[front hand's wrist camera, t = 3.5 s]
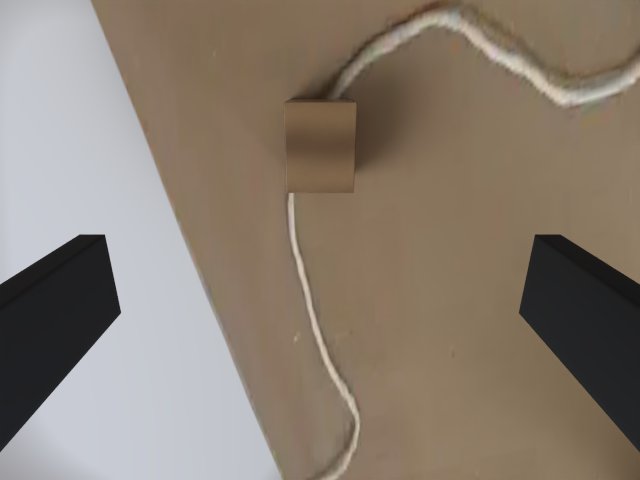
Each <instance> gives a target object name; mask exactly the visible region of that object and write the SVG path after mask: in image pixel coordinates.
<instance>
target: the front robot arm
mask: <svg viewBox="0 0 640 480" xmlns="http://www.w3.org/2000/svg"><path fill="white" fill-rule="evenodd" d="M120 313H121V310H120V305H119V301H118V296H117V291H116V286H115V281H114V276H113V272H112V267H111V262H110V257H109V252H108V247H107V243H106V238H105V235H78V236H77V237H75V238H74V239H72V240H70V241H69V242H67V243H66V244H64V245H62V246H61V247H59V248H58V249H56V250H55V251H53V252H51V253H50V254H48V255H46V256H45V257H43V258H42V259H40V260H38V261H37V262H35V263H34V264H32V265H31V266H29V267H27V268H26V269H24V270H23V271H21V272H19V273H18V274H16V275H15V276H13V277H11V278H10V279H8V280H7V281H5V282H3V283H2V284H0V452H1V451H2V449H3V448H4V447H5V446H6V445H7V444H8V443H9V441H10V440H11V439H12V438H13V437H14V436H15V434H16V433H17V432H18V431H19V430H20V429H21V428H22V426H23V425H24V424H25V423H26V422H27V421H28V420H29V418H30V417H31V416H32V415H33V414H34V413H35V411H36V410H37V409H38V408H39V407H40V406H41V404H42V403H43V402H44V401H45V400H46V399H47V398H48V396H49V395H50V394H51V393H52V392H53V391H54V390H55V388H56V387H57V386H58V385H59V384H60V383H61V382H62V380H63V379H64V378H65V377H66V376H67V374H68V373H69V372H70V371H71V370H72V369H73V368H74V367H75V365H76V364H77V363H78V362H79V361H80V360H81V358H82V357H83V356H84V355H85V354H86V353H87V352H88V350H89V349H90V348H91V347H92V346H93V345H94V344H95V342H96V341H97V340H98V339H99V338H100V337H101V335H102V334H103V333H104V332H105V331H106V330H107V329H108V327H109V326H110V325H111V324H112V323H113V322H114V320H115V319H116V318H117V317H118V316H119V315H120ZM519 314H520V315H521V316H522V317H523V318H524V319H525V320H526V322H527V323H528V324H529V325H530V326H531V327H532V329H533V330H534V331H535V332H536V333H537V334H538V335H539V337H540V338H541V339H542V340H543V341H544V342H545V344H546V345H547V346H548V347H549V348H550V349H551V350H552V352H553V353H554V354H555V355H556V356H557V357H558V358H559V360H560V361H561V362H562V363H563V364H564V365H565V367H566V368H567V369H568V370H569V371H570V372H571V373H572V375H573V376H574V377H575V378H576V379H577V380H578V382H579V383H580V384H581V385H582V386H583V387H584V388H585V390H586V391H587V392H588V393H589V394H590V395H591V396H592V398H593V399H594V400H595V401H596V402H597V403H598V405H599V406H600V407H601V408H602V409H603V410H604V411H605V413H606V414H607V415H608V416H609V417H610V418H611V420H612V421H613V422H614V423H615V424H616V425H617V426H618V428H619V429H620V430H621V431H622V432H623V433H624V435H625V436H626V437H627V438H628V439H629V440H630V441H631V443H632V444H633V445H634V446H635V447H636V448H637V449H638V451H639V452H640V284H638V283H637V282H635V281H633V280H632V279H630V278H629V277H627V276H625V275H624V274H622V273H621V272H619V271H617V270H616V269H614V268H613V267H611V266H609V265H608V264H606V263H605V262H603V261H602V260H600V259H598V258H597V257H595V256H594V255H592V254H590V253H589V252H587V251H586V250H584V249H582V248H581V247H579V246H578V245H576V244H574V243H573V242H571V241H570V240H568V239H566V238H565V237H563V236H562V235H535V238H534V243H533V247H532V252H531V257H530V262H529V267H528V272H527V276H526V281H525V286H524V291H523V296H522V300H521V305H520V310H519Z"/></svg>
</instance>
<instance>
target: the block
mask: <svg viewBox="0 0 640 480" xmlns="http://www.w3.org/2000/svg"><path fill="white" fill-rule="evenodd" d="M356 110H357V102H355V101H353V100H351V99H289V100H288V101H286V102H284V126H285V160H286V192H287V193H354V170H355V140H356Z"/></svg>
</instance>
